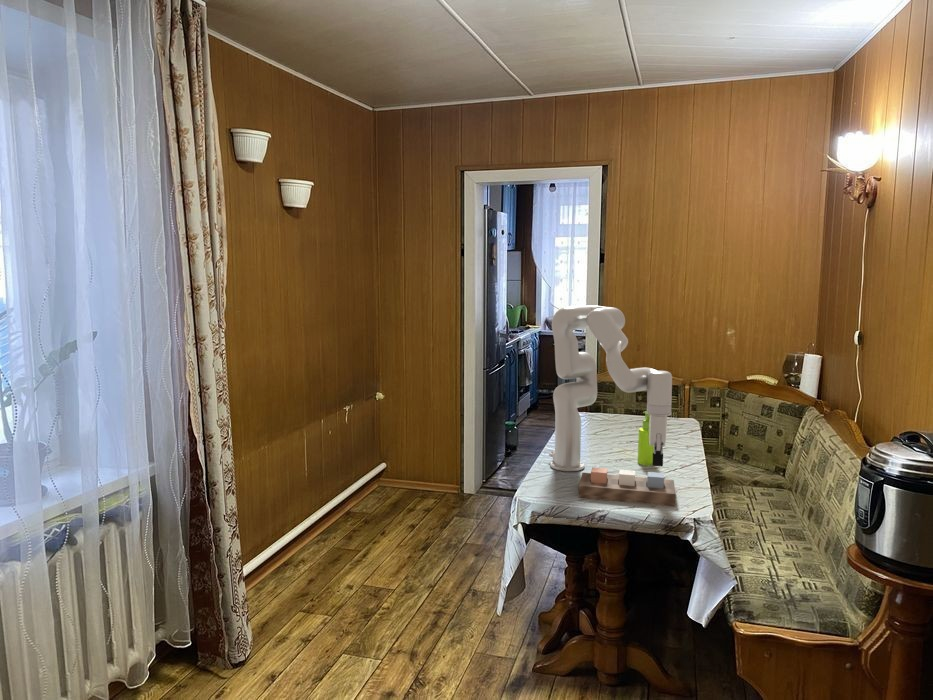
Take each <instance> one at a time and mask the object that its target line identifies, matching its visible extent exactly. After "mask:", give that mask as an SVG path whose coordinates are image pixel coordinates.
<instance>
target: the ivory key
mask: <svg viewBox="0 0 933 700" xmlns="http://www.w3.org/2000/svg"><path fill="white" fill-rule="evenodd" d="M618 475H619V485H627V486H635V477H636V470H630V469H619V472H618Z"/></svg>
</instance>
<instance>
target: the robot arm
mask: <svg viewBox="0 0 933 700" xmlns="http://www.w3.org/2000/svg"><path fill="white" fill-rule="evenodd" d="M625 324H626V318H625V315H624V313H623V312H622V311H621V310H620V309H619V308H617V307H611V306H601V305H569V306H565V307H561V308H560V309H558V310H557V311H556V312H555V313H554V315H553V317H552V319H551V331H552V336H553V341H554V360H555V361H554V362H555V371H556V372H555V373H556V375H557V376H558V377H559V378H560V379H562V380H572V379H576V381H570V382H565V383H562V384H559V385H558V386H557V387H555V389H554V391H553V394H552V399H553V400H552V401H553V407H554V412H555V413H554V415H555V417H554V420H555V424H554V429H555V431H554V449H553V450H551V451H550V452H549V453H548V456H549V457H550V458H552V460H551V461H550V465H549V466H550V468H552V469H553V470H557V471H562V472H579V471H582V470H583V469H584V468H585V463H584V462H582V461H581V449H582V448H581V447H582V443H581V442H582V417H581V415H580V413H579V410H578V408H583V407H588V406H591V405H593V404H594V403H595V402H596V400H597V397H598V377H597V376H598V375H597V374H598V373H597V365H596V364H597V363H596V361H595V358H594V357H593V355H592V354H590V353H589V352H586V351H579V341H578V338H577V336H576V334H575V332H574V330H588V329H589V330H590V331H591V332H592V334H593V336H594V337H595V339H596V341H598V343H599V345H600V346H601V347H602V349H603V350H604V352H605V353H606V354H605V355H606V356H605V364H606V369H607V372H608V374H609V377H610V378H611V379H612V380H613V382H614V383H615V385H616V386H617V387H618V388H619V389H620V390H621V391H622V392H625V393H629V394H631V393H637V392H643V391H647V392H646V393H647V394H646V411H647V414H648V415H650V423H649V445H650V446H651V445H654V453H653V465H652V466H653V467H663V466H664V453H663V452H664V451H663V449H664V448H663V447H665V446H666V440H667V431H668V429H667V428H668V417H670V416H672V399H673V398H672V396H673V393H672V392H673V391H672V390H673V374H672V373H671V372H670V371H667V370H657V369H654V368H651V367H635V368H629V367H628V365H627V364H626V362H625V361H624V360H623V357H622V355H621V354H622V353H621V352H623V351H624V350H625V349H626V348H627V346H628V344H629V339H628V337H627V336H626V334H625V333H624V332H623V331H622V329H623V328H624V327H625V326H626V325H625Z"/></svg>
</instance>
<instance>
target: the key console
mask: <svg viewBox="0 0 933 700" xmlns="http://www.w3.org/2000/svg"><path fill="white" fill-rule="evenodd" d="M647 478H648V477H640V476H635V486H627V485H619V474H618V475H616V474H607V483H606V484H604V483H592V482H591V472H582V473H581V476H580V479H579V483H578V495H577V498H580V499H581V498H582V499H590V500H591V499H592V500H603V501H604V500H605V501H614V502H624V503H634V504H645V505H646V504H647V505H654V506H657V505H658V506H667V507H676V496H677V495H676V486H675V481H674V479H666V478H664V489H661V488H650V487H647Z"/></svg>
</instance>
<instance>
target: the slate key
mask: <svg viewBox="0 0 933 700" xmlns="http://www.w3.org/2000/svg"><path fill="white" fill-rule="evenodd" d="M646 478H647V487H650V488H661V489H664V479H665V473H664V472H655V471H647V477H646Z"/></svg>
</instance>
